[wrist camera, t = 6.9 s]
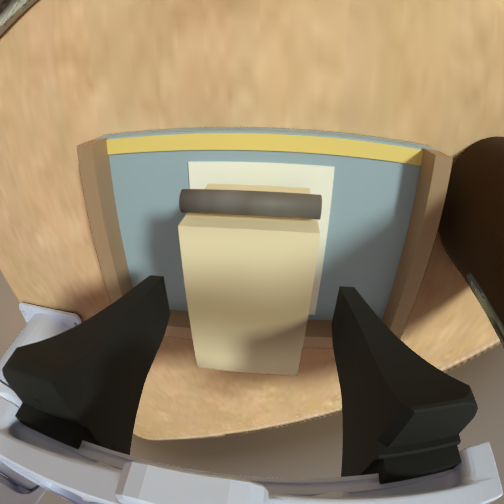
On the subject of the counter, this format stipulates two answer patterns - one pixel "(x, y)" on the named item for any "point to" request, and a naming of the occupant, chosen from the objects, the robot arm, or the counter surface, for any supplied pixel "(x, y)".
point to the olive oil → (478, 225)
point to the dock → (271, 174)
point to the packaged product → (12, 12)
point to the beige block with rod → (249, 274)
